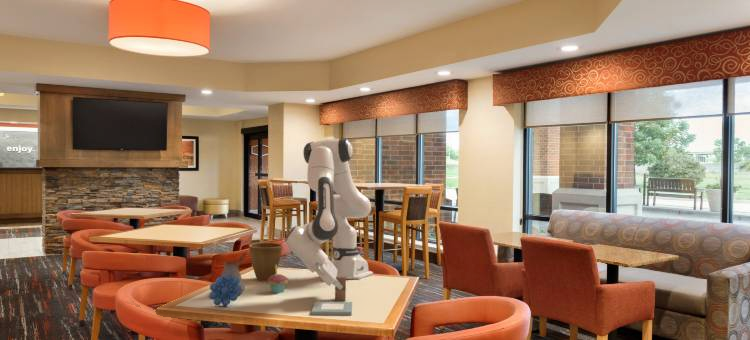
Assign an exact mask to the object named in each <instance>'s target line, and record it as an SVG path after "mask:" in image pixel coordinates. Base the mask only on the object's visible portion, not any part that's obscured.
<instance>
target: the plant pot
mask: <svg viewBox="0 0 750 340" xmlns="http://www.w3.org/2000/svg"><path fill="white" fill-rule="evenodd" d="M248 248H249V255H250V261H251V264H252V265H251V266H252V268H253V272H254V275H255V278H256V280H257V281H259V282H267V281H268V278H269V277H270V276H272V275H275V274H276V273H275V265H277V269H279V268H278V267H279V263H280V259H281V255H282V249H283V245H282V244H281V243H277V242H255V243H251V244H249V245H248Z"/></svg>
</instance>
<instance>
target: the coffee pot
mask: <svg viewBox="0 0 750 340" xmlns="http://www.w3.org/2000/svg"><path fill="white" fill-rule="evenodd" d="M249 255H250V253H247V251H245V252H243V254H242V256H240V258H239V259H238V261H224V262H222V265H223V268H224V269H223V271H222V273H221V275H220V276H223V277H225V276H226V275H227V274H231V275H232V276H233V278H234V277H238V278H239V283H238V284H237V285H240V286H241V291H240V292H238V293H237V295H238V296H240V295H241V294H242V293H244V291H245V289H246V285H245V282H244V281H243V280H244V279H243V278H242V275H241V273H240V270H239V265H240V263H241V262H242V261H243V260H244V258H245V257H246V256H247V257H249ZM233 278H232V279H233Z"/></svg>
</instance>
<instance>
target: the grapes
mask: <svg viewBox="0 0 750 340" xmlns="http://www.w3.org/2000/svg"><path fill="white" fill-rule="evenodd" d="M232 278H233V276H232V275H231V274H227V275H226V276H225V277H223V276H221V275H219V276H218V277H216V279H215V282H213V283H212V284H210V286H209V290H210V291H211V292H209V295H208V298H209V299H210V300H213V304H214V305H215V306H220V305H222V306H223V307H227V306H229V305H230V304H231V302H235V301H237V299H238V297H239V295H237V293H238V292H240V291H241V286H240V285H237V284H238V283H239V278H238V277H234V278H233V279H232Z"/></svg>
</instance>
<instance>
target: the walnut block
mask: <svg viewBox="0 0 750 340" xmlns="http://www.w3.org/2000/svg"><path fill="white" fill-rule="evenodd" d="M336 279H337V281H338V282H339V283H341V284H342V285H343V288H342V289H341V290H339V289H338V288H337V287H336V286H335V285H334V286H335V287H334V302H346V298H347V297H346V296H347V293H346V291H347V288H346V284H347V279H346V276H336Z"/></svg>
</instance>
